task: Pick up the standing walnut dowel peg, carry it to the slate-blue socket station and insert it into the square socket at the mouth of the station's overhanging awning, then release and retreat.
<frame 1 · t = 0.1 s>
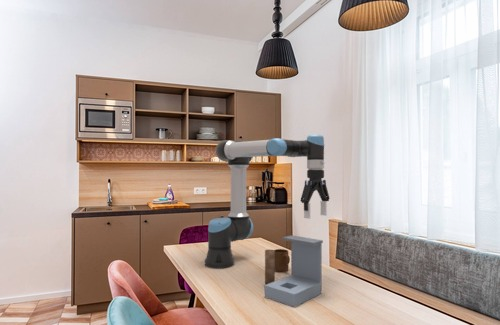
hand: (315, 216, 152), 28 cm above the table, fingers open, 13 cm apart
peg: (269, 286, 142), on the table
mug: (282, 271, 164), on the table
socket station: (288, 297, 130), on the table
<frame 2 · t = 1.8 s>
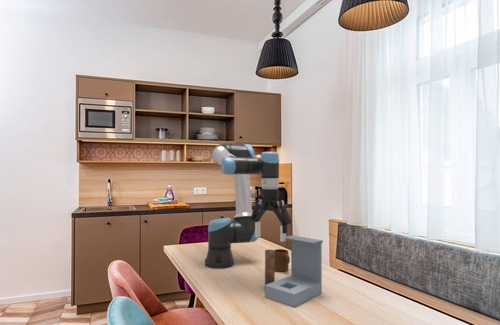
hand: (270, 239, 142), 20 cm above the table, fingers open, 13 cm apart
nothing on the table moved.
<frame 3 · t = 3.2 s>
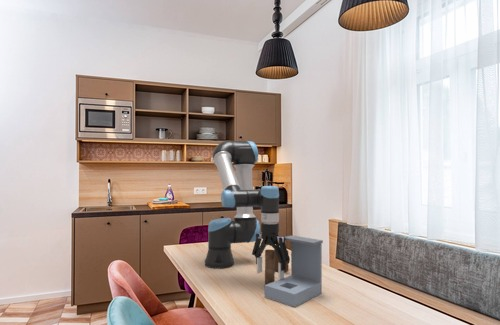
hand: (270, 275, 142), 5 cm above the table, fingers open, 11 cm apart
nothing on the table moved.
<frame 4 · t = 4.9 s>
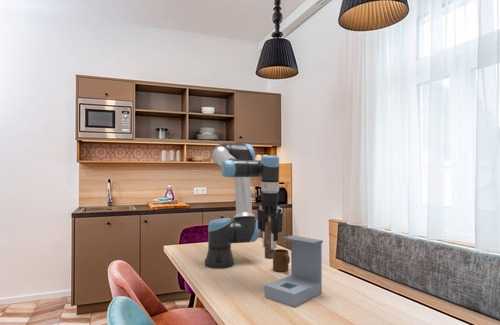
hand: (269, 247, 143), 16 cm above the table, fingers closed on peg, 4 cm apart
peg: (269, 257, 143), point 12 cm above the table, touching gripper
everything else where it was.
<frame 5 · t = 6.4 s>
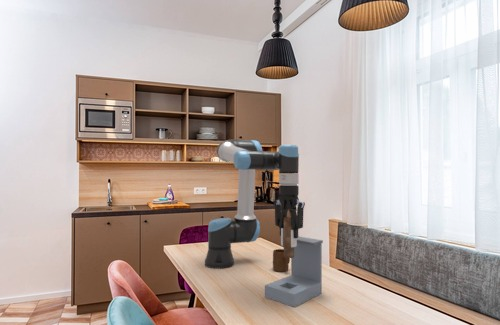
hand: (288, 245, 130), 20 cm above the table, fingers closed on peg, 4 cm apart
peg: (288, 256, 130), point 16 cm above the table, touching gripper
everything else where it was.
when the fingers open (6 cm above the table, at t = 8.8 s): peg drops 1 cm, resting in socket station.
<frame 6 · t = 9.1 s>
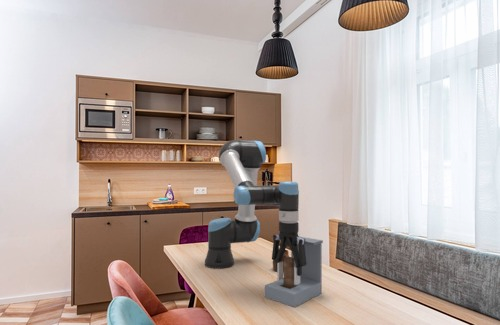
hand: (288, 281, 130), 6 cm above the table, fingers open, 7 cm apart
peg: (288, 297, 130), resting in socket station
everything else where it was.
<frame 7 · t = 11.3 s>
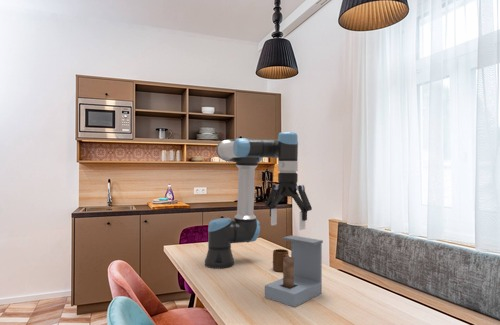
hand: (287, 227, 131), 27 cm above the table, fingers open, 13 cm apart
nothing on the table moved.
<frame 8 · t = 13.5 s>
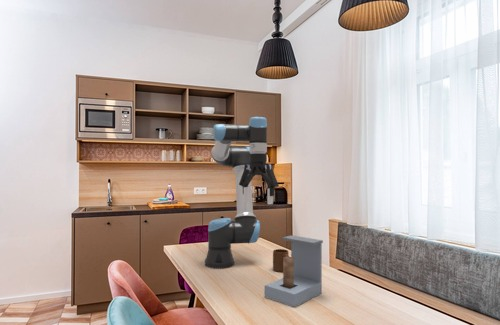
hand: (257, 203, 145), 35 cm above the table, fingers open, 13 cm apart
nothing on the table moved.
at the end: peg 0.1 cm off-centre on the socket station, point 0.0 cm above the socket station's base; peg tilted 1°; the gripper is holding nothing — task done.
